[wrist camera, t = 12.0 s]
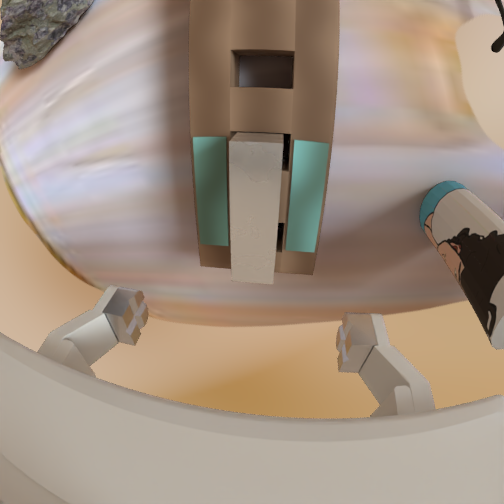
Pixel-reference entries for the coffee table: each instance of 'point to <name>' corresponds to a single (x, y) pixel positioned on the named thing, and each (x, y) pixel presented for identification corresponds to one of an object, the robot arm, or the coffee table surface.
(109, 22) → the coffee table surface
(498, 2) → the sunglasses
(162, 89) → the coffee table surface
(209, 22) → the slotted brown block
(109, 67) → the coffee table surface
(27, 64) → the mineral rock
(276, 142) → the tall white block
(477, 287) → the cup
